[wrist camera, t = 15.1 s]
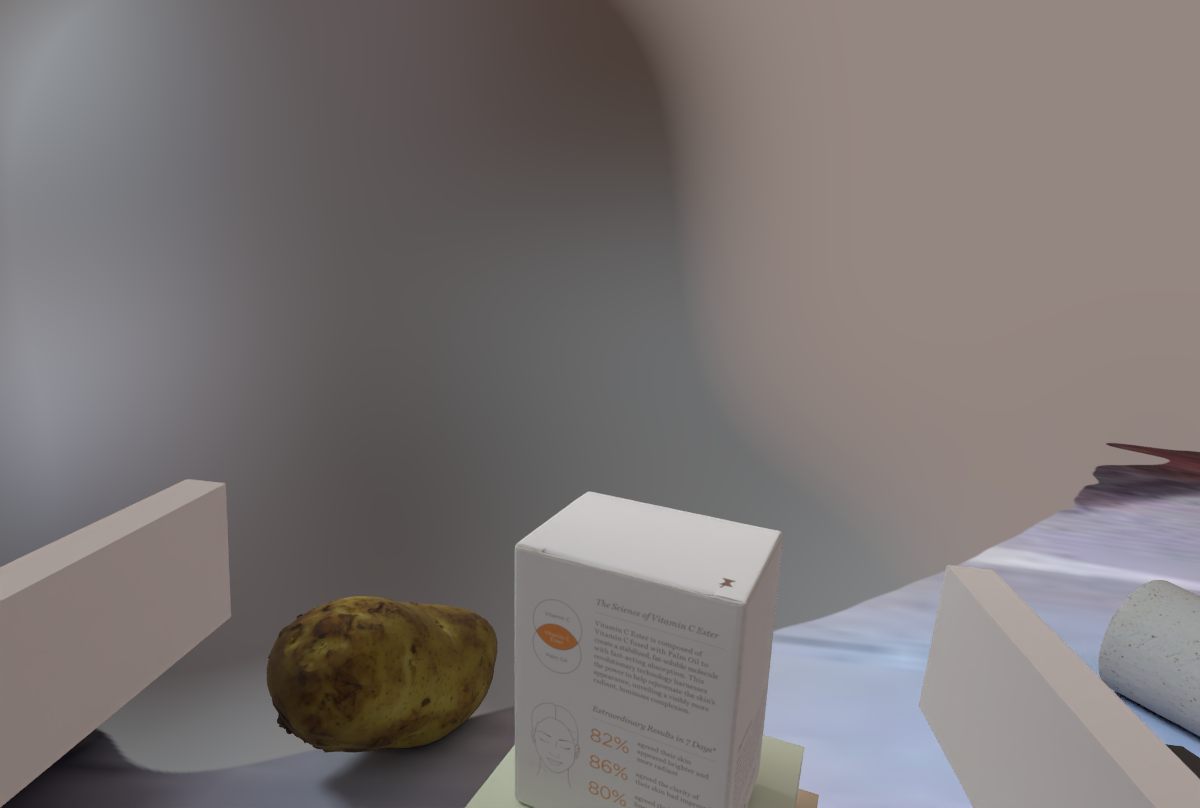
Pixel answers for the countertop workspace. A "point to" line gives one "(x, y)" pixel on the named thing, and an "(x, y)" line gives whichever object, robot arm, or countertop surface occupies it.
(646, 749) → the small box
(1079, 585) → the countertop surface
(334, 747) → the potato
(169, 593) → the robot arm
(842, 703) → the countertop surface
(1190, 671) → the ceramic mug
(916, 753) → the countertop surface
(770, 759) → the sage top slab
